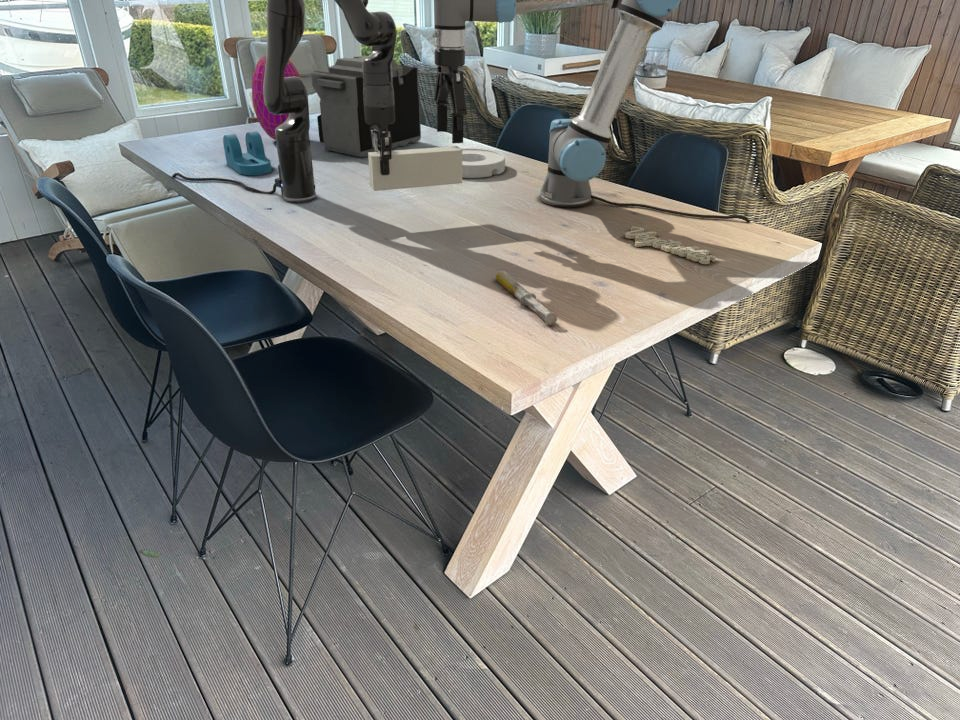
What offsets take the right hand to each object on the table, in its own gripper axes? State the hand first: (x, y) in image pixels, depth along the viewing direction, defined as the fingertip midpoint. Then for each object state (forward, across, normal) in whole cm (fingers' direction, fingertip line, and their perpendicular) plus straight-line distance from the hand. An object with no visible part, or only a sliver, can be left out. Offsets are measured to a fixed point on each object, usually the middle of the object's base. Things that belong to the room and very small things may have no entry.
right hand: (449, 137), depth 179 cm
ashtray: (+21, -44, +21) cm, 54 cm away
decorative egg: (+22, -105, -34) cm, 112 cm away
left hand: (+8, 0, -18) cm, 20 cm away
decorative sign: (+21, +40, +44) cm, 63 cm away
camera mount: (+22, -66, -49) cm, 85 cm away
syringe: (+21, +57, -1) cm, 61 cm away
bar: (+12, 0, -9) cm, 15 cm away
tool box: (+22, -86, -4) cm, 89 cm away
